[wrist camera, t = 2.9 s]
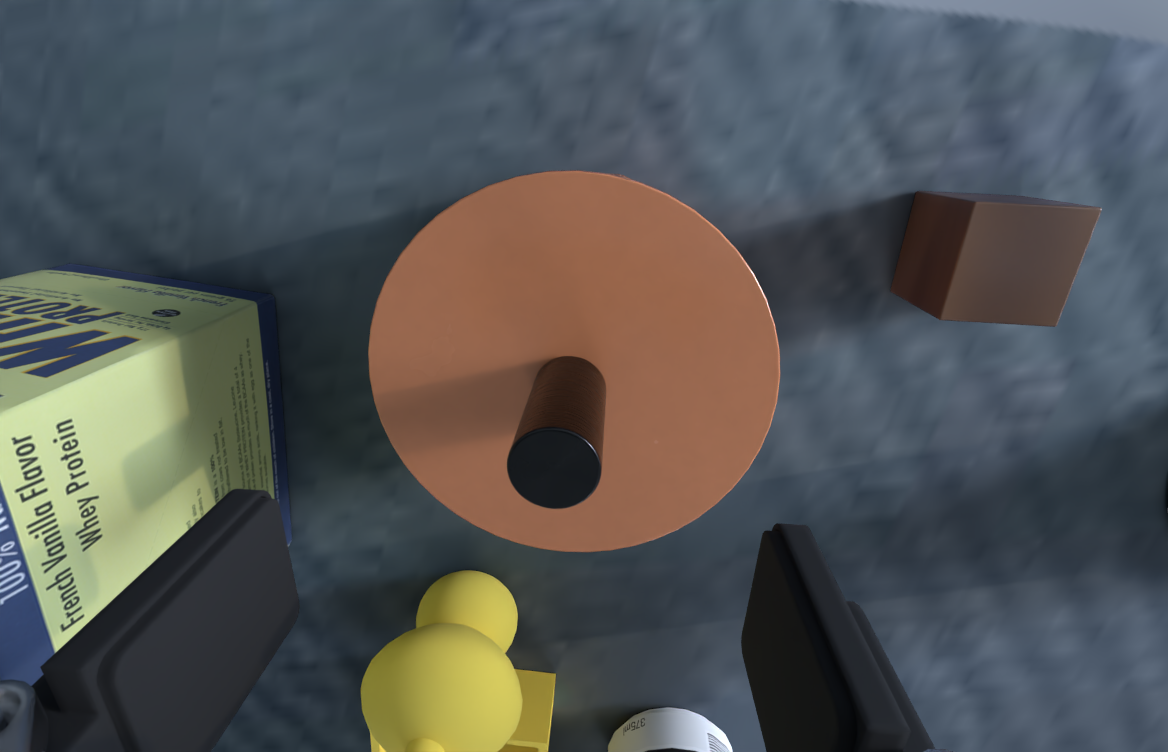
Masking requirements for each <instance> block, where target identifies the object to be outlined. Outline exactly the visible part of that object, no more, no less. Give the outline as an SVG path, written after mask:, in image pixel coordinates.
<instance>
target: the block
mask: <svg viewBox="0 0 1168 752" xmlns="http://www.w3.org/2000/svg"><path fill="white" fill-rule="evenodd" d="M1101 210H1102V208H1100V207H1093V206H1086V205H1079V204H1073V203H1066V202H1059V201H1052V200H1045V199H1038V198H1032V197H1025V196H1012V195H992V194H972V193H952V192H932V191H917V192H916V194H915V198H914V202H913V206H912V209H911V213H910V217H909V221H908V225H907V229H906V232H905V236H904V240H903V244H902V248H901V252H900V255H899V259H898V263H897V267H896V271H895V275H894V278H893V282H892V286H891V290H890V291H891V292H892V293H894V294H896V295H897V296H899V297H901V298H903V299H904V300H906V301H908V302H910V303H911V304H913V305H915V306H917V307H918V308H920V309H922V310H924V311H925V312H927V313H929V314H931V315H932V316H934V317H936V318H938V319H939V320H950V321H967V322H984V323H1001V324H1018V325H1035V326H1052V327H1055V326H1057V324H1058V321H1059V318H1060V316H1061V313H1062V311H1063V308H1064V306H1065V303H1066V300H1067V298H1068V295H1069V293H1070V290H1071V288H1072V285H1073V282H1074V280H1075V277H1076V275H1077V272H1078V270H1079V267H1080V264H1081V262H1082V259H1083V257H1084V254H1085V252H1086V249H1087V246H1088V244H1089V241H1090V239H1091V236H1092V234H1093V231H1094V228H1095V226H1096V223H1097V221H1098V218H1099V216H1100V213H1101Z"/></svg>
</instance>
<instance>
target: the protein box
mask: <svg viewBox="0 0 1168 752" xmlns="http://www.w3.org/2000/svg"><path fill="white" fill-rule="evenodd" d="M233 489H251V490H265V491H268V492H269V494H270V495H271V497H272V499H276V500H277V501H278V503H279V506H280V511H281V516H282V521H283V526H284V530H285V535H286V540H287V545H288V546H289V545H290V543H291V541H292V533H291V520H290V505H289V490H288V475H287V459H286V446H285V431H284V417H283V404H282V391H281V379H280V365H279V351H278V337H277V323H276V310H275V299H274V296H273V295H271V294H265V293H258V292H251V291H245V290H239V289H233V288H226V287H220V286H214V285H207V284H202V283H196V282H189V281H182V280H176V279H170V278H163V277H157V276H151V275H143V274H136V273H130V272H123V271H117V270H110V269H104V268H97V267H91V266H84V265H77V264H71V263H69V264H66V265H62V266H58V267H53V268H49V269H44V270H39V271H35V272H31V273H26V274H22V275H18V276H13V277H9V278H4V279H0V680H9V679H13V680H19V681H25V682H26V683H28V684H29V685H30V686H32V685H33V684H34V683H35V682H36V681H37V680H38V679H39V678H40V677H41V676H42V675H44V674H43V672H42V670H41V668H40V667H41V666H42V665H43V664H44V663H45V662H46V661H47V660H48V659H49V658H50V657H52V656H53V655H54V654H55V653H56V652H57V651H58V650H59V649H60V648H61V647H62V646H63V645H64V644H66V643H67V642H68V641H69V640H70V639H71V638H72V637H73V636H74V635H75V634H76V633H77V632H79V631H80V630H81V629H82V628H83V627H84V626H85V625H86V624H87V623H88V622H89V621H90V620H91V619H93V618H94V617H95V616H96V615H97V614H98V613H99V612H100V611H101V610H102V609H103V608H104V607H105V606H107V605H108V604H109V603H110V602H111V601H112V600H113V599H114V598H115V597H116V596H117V595H118V594H120V593H121V592H122V591H123V590H124V589H125V588H126V587H127V586H128V585H129V584H130V583H131V582H132V581H134V580H135V579H136V578H137V577H138V576H139V575H140V574H141V573H142V572H143V571H144V570H145V569H146V568H148V567H149V566H150V565H151V564H152V563H153V562H154V561H155V560H156V559H157V558H158V557H159V556H161V555H162V554H163V553H164V552H165V551H166V550H167V549H168V548H169V547H170V546H171V545H172V544H173V543H175V542H176V541H177V540H178V539H179V538H180V537H181V536H182V535H183V534H184V533H185V532H186V531H187V530H189V529H190V528H191V527H192V526H193V525H194V524H195V523H196V522H197V521H198V520H199V519H200V518H202V517H203V516H204V515H205V514H206V513H207V512H208V511H209V510H210V509H211V508H212V507H213V506H214V505H216V504H217V503H218V502H219V501H220V500H221V499H222V498H223V497H224V496H225V495H226V494H227V493H229V492H230V491H231V490H233Z"/></svg>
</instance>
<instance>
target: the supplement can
mask: <svg viewBox="0 0 1168 752" xmlns="http://www.w3.org/2000/svg"><path fill="white" fill-rule="evenodd" d="M608 752H732V747H731V745H730V743H729V741H728V739H727V737H726V735H725V733H724V732H722V731H721V730H720V729H719V728H718V727H716V726H715V725H714V724H713V723H712V722H710V721H708V720H707V719H706V718H705V717H703V716H701V715H699V714H696V713H694V712H691V711H689V710H686V709H678V708H670V707H666V708H657V709H649V710H647V711H644V712H642V713H639V714H636V715H634V716H633V717H631V718H630V719H629V720H628V721H627V722H626V723H624V724H623V725H622V726H621V727H620V728H619V729H618V730H616V731H615V732H614V734H613V736H612V739H611V741H610V743H609V745H608Z"/></svg>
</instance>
